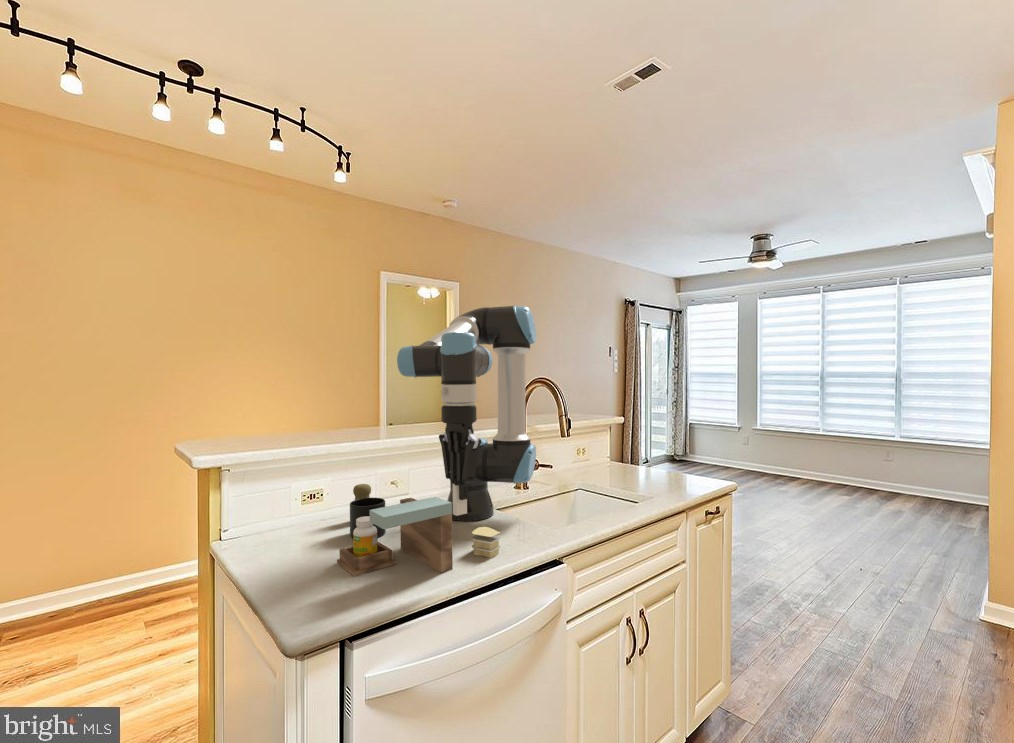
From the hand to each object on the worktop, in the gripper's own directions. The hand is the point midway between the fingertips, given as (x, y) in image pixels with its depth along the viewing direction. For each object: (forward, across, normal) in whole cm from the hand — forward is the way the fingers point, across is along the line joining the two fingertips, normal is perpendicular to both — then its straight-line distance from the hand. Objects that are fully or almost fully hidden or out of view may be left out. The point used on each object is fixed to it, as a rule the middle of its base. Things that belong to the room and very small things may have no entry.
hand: (460, 513), depth 105 cm
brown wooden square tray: (+14, -22, -12) cm, 28 cm away
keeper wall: (+14, -15, 0) cm, 21 cm away
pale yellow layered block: (+15, -9, +13) cm, 21 cm away
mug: (+14, -40, -3) cm, 42 cm away
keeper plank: (+2, -9, -7) cm, 11 cm away
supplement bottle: (+13, -22, -12) cm, 28 cm away
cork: (+14, -54, +1) cm, 55 cm away
